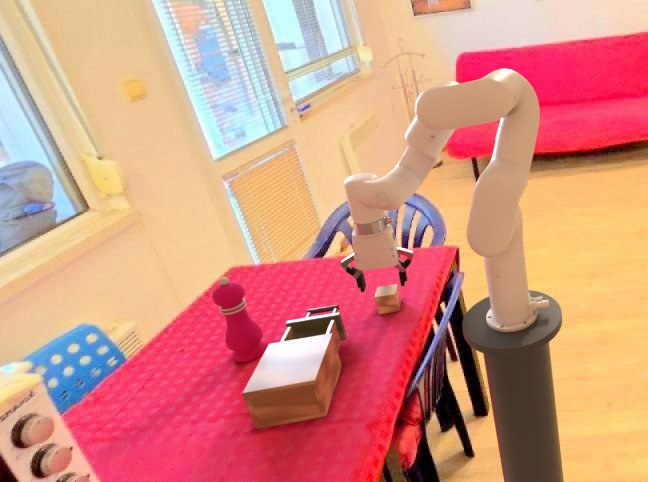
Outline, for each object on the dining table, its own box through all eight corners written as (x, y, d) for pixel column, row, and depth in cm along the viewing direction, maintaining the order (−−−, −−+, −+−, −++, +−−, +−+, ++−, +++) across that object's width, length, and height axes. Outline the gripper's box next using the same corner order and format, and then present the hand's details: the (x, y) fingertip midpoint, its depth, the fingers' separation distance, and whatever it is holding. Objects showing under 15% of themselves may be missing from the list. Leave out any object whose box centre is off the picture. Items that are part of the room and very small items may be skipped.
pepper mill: (225, 360, 117) (195, 284, 110) (252, 341, 124) (226, 267, 116) (247, 366, 115) (218, 288, 107) (275, 346, 121) (249, 271, 114)
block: (401, 300, 135) (397, 283, 133) (399, 311, 131) (395, 293, 129) (381, 303, 135) (377, 286, 133) (378, 314, 130) (374, 297, 128)
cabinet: (280, 377, 111) (269, 343, 108) (342, 366, 112) (332, 332, 109) (255, 429, 97) (242, 393, 94) (326, 416, 99) (315, 380, 96)
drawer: (303, 327, 126) (296, 303, 123) (352, 319, 127) (346, 295, 125) (276, 386, 107) (266, 359, 104) (334, 375, 108) (326, 348, 106)
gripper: (408, 213, 129) (420, 274, 135) (335, 223, 126) (350, 284, 133) (406, 226, 122) (418, 289, 128) (328, 236, 119) (344, 300, 126)
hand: (383, 286), depth 130 cm, fingers open, 9 cm apart
